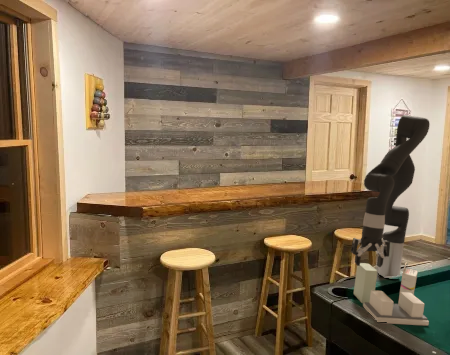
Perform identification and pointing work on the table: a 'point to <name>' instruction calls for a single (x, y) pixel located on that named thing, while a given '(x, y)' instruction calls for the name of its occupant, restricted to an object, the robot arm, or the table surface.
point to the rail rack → (396, 309)
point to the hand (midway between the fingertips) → (368, 265)
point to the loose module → (365, 282)
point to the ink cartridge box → (408, 280)
